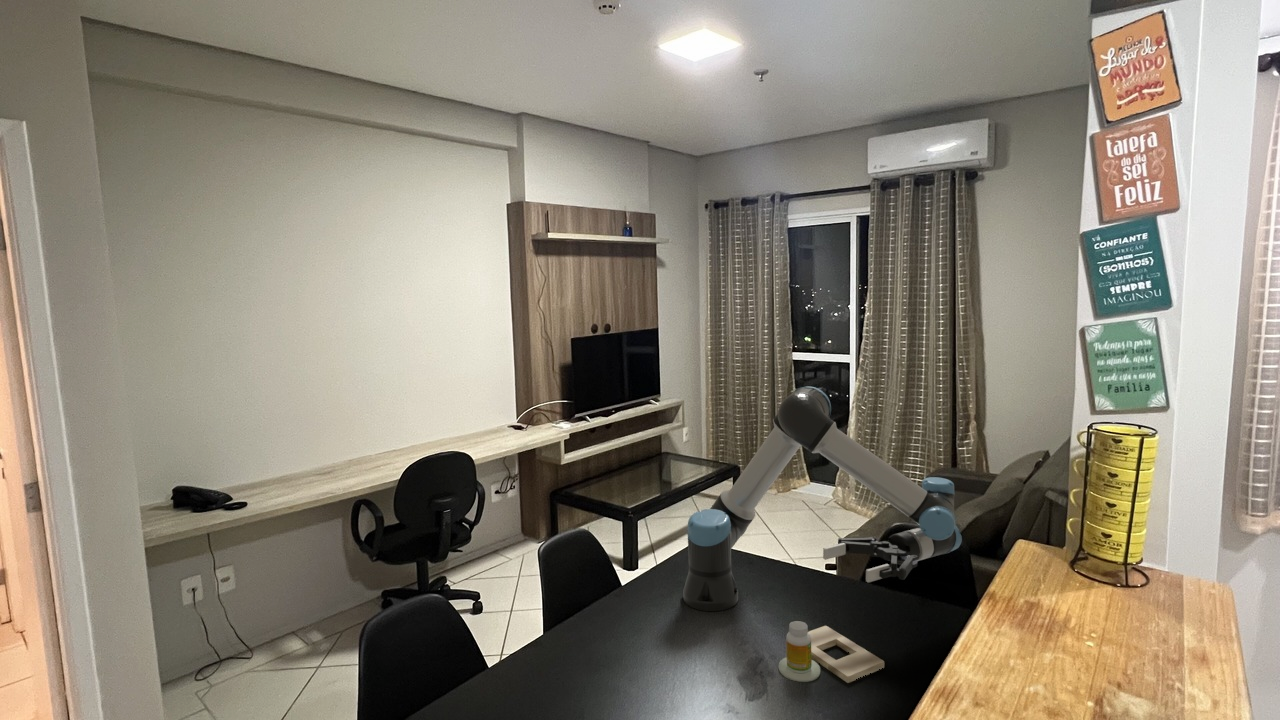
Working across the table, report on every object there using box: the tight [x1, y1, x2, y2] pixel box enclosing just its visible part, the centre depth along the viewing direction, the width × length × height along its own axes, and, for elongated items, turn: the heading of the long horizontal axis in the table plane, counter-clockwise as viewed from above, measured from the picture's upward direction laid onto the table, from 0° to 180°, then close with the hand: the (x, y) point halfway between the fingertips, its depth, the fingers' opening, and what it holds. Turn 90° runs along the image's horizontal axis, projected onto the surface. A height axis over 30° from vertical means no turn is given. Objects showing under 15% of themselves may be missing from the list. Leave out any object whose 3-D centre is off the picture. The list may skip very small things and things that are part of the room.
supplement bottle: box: [785, 620, 812, 673], centre depth 142 cm, size 5×5×10 cm
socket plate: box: [808, 625, 885, 684], centre depth 148 cm, size 18×11×2 cm, turn 28°
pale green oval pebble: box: [778, 656, 821, 683], centre depth 143 cm, size 9×9×1 cm
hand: (844, 564), depth 150 cm, fingers open, 13 cm apart
